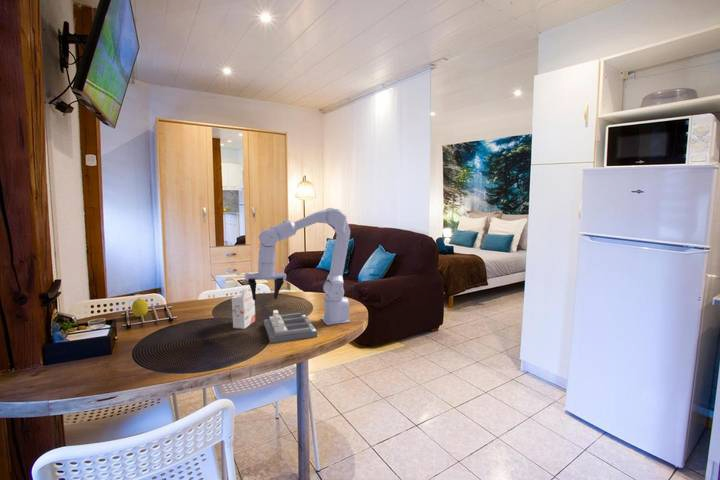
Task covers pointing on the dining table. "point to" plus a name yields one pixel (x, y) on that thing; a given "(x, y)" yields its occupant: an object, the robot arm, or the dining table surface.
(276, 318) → the tab
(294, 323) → the switch panel
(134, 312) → the lemon
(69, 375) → the dining table surface
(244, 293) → the ink cartridge box
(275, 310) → the tab
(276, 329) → the tab
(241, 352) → the dining table surface
